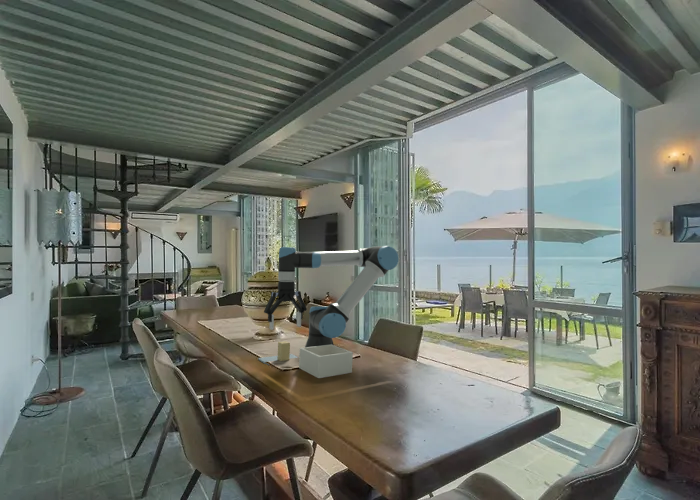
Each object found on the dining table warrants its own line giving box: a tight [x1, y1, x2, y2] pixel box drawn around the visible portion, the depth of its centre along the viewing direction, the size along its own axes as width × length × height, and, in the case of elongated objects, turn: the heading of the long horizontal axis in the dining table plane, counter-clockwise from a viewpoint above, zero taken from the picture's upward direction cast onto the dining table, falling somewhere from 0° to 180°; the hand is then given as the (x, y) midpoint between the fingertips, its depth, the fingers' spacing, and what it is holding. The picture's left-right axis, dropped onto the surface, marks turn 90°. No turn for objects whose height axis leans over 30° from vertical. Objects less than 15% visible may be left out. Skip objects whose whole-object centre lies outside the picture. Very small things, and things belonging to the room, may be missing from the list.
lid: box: [257, 340, 299, 366], centre depth 173 cm, size 17×17×9 cm
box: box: [298, 344, 354, 379], centre depth 159 cm, size 16×16×9 cm
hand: (285, 327), depth 174 cm, fingers open, 13 cm apart
